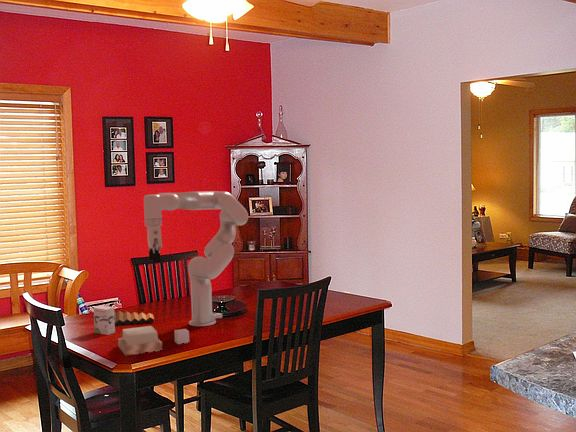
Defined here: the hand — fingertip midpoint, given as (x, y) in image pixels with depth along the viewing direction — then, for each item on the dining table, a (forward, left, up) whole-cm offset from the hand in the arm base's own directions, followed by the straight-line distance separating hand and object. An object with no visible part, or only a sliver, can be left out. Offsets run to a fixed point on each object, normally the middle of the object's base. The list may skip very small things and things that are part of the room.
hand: (154, 260), depth 307 cm
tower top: (+12, +21, -29) cm, 38 cm away
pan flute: (+7, -35, -34) cm, 49 cm away
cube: (-6, +20, -33) cm, 39 cm away
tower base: (+12, +21, -33) cm, 41 cm away
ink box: (+21, -13, -33) cm, 41 cm away
